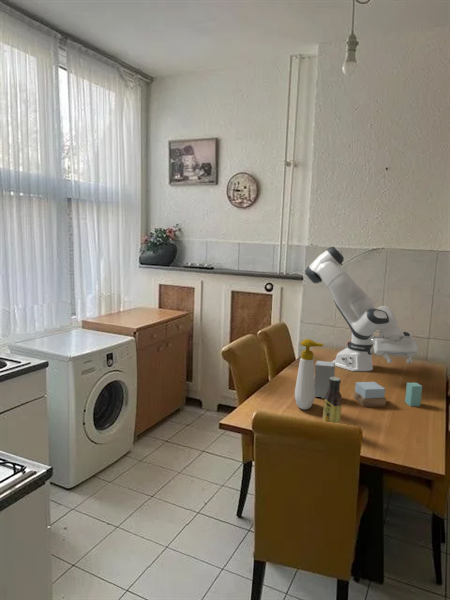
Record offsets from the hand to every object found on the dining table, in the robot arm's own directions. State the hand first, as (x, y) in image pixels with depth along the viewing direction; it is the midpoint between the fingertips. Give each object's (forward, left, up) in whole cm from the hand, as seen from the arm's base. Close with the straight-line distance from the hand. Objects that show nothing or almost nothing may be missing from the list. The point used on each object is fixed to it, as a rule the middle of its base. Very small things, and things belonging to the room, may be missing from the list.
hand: (399, 362), depth 200 cm
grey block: (-6, -19, -11) cm, 23 cm away
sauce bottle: (-7, -56, -15) cm, 59 cm away
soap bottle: (-24, -43, -15) cm, 52 cm away
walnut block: (-6, -19, -15) cm, 25 cm away
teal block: (+9, -8, -15) cm, 20 cm away
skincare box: (-24, -27, -15) cm, 39 cm away
